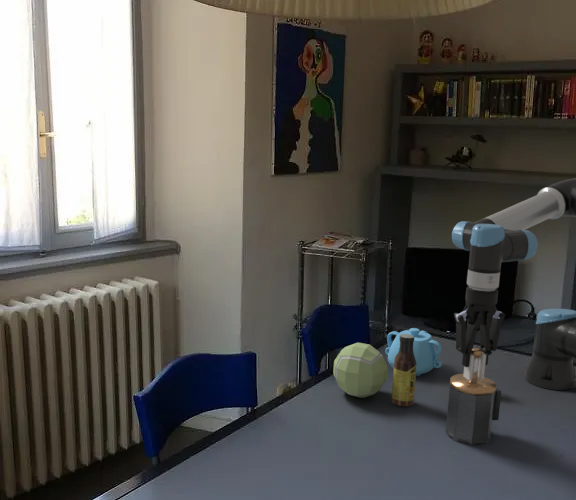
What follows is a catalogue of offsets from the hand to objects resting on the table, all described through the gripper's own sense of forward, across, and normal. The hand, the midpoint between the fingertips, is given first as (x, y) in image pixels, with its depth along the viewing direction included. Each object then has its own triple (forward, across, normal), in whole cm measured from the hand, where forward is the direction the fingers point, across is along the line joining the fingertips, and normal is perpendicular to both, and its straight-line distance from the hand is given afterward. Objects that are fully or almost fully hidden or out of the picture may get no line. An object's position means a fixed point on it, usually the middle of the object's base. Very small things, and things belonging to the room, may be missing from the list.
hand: (473, 377), depth 160 cm
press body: (+15, +1, 0) cm, 15 cm away
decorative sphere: (+16, -18, +29) cm, 38 cm away
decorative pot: (+16, +7, +44) cm, 47 cm away
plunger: (+14, 0, 0) cm, 14 cm away
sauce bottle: (+16, -8, +21) cm, 27 cm away
